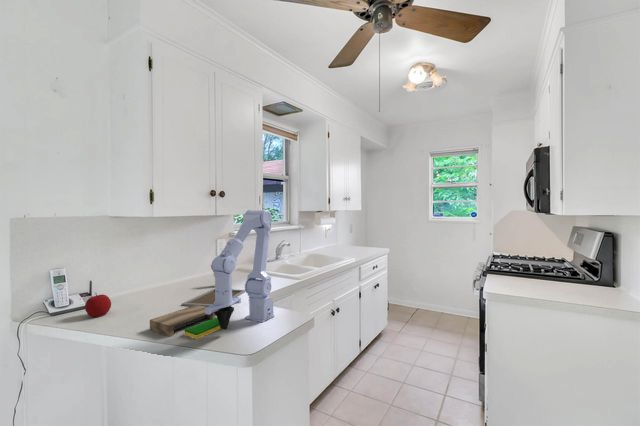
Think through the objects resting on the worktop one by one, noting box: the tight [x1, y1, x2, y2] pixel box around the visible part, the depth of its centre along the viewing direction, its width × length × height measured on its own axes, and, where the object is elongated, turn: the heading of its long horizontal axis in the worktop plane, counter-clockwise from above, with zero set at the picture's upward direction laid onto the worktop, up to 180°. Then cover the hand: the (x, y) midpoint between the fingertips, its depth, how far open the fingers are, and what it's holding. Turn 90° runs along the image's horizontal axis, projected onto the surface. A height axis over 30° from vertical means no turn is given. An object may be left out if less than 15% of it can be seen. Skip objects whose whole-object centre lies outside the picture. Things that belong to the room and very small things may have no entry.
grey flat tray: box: [180, 288, 246, 307], centre depth 150 cm, size 19×2×30 cm
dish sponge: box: [183, 317, 222, 340], centre depth 108 cm, size 7×14×2 cm, turn 149°
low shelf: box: [149, 305, 217, 337], centre depth 114 cm, size 12×20×4 cm, turn 150°
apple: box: [84, 292, 112, 318], centre depth 126 cm, size 9×9×10 cm
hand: (224, 328), depth 103 cm, fingers closed
